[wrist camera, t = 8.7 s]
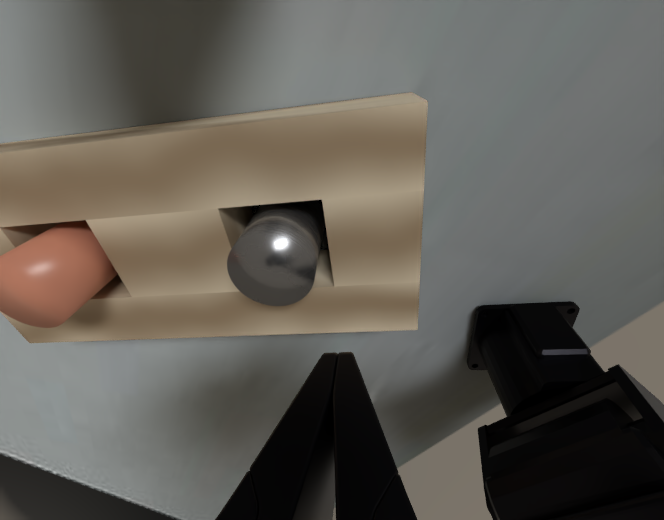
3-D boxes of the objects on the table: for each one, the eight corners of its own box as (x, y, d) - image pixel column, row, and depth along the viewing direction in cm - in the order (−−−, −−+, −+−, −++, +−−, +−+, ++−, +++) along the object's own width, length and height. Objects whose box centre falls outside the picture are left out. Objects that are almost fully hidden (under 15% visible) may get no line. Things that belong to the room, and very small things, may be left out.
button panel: (407, 287, 21) (417, 329, 18) (74, 304, 24) (29, 343, 21) (411, 91, 15) (427, 101, 12) (-42, 148, 18) (-133, 169, 15)
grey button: (328, 246, 19) (320, 304, 15) (267, 250, 20) (240, 307, 15) (320, 184, 17) (306, 230, 13) (251, 191, 18) (214, 236, 13)
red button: (146, 265, 20) (83, 326, 15) (91, 268, 21) (14, 329, 16) (116, 208, 18) (32, 260, 13) (55, 214, 18) (-45, 265, 14)
